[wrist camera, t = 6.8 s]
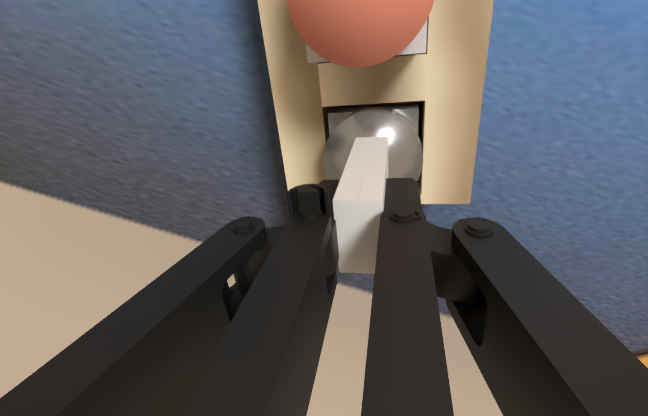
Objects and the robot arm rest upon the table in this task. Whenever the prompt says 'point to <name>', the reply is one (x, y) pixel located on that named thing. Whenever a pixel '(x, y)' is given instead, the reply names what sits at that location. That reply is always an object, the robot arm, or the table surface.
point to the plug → (375, 122)
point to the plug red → (360, 29)
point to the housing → (386, 94)
